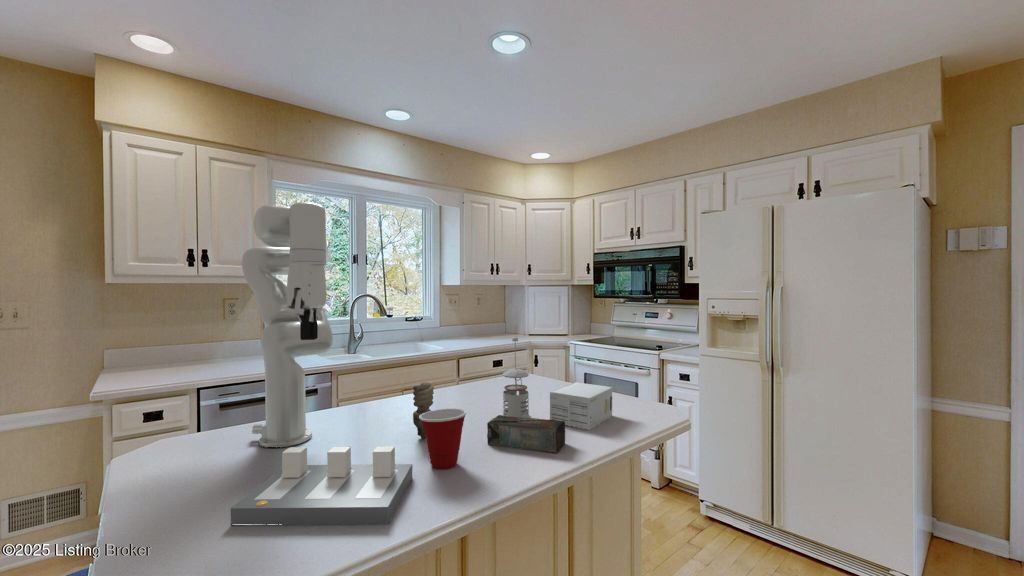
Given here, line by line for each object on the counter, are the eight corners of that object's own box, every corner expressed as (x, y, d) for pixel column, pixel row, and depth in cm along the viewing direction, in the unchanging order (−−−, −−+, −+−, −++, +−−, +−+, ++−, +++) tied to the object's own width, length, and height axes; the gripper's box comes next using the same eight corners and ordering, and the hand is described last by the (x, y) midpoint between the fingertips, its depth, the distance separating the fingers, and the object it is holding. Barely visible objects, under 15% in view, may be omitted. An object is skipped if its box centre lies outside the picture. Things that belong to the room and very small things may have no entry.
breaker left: (281, 477, 86) (281, 453, 86) (290, 469, 89) (290, 446, 89) (299, 477, 86) (299, 453, 86) (308, 469, 89) (307, 446, 89)
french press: (497, 422, 129) (496, 339, 129) (504, 411, 141) (503, 334, 141) (529, 424, 128) (529, 339, 128) (534, 412, 139) (533, 334, 139)
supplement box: (589, 431, 122) (589, 397, 122) (549, 423, 129) (548, 391, 129) (613, 416, 135) (613, 386, 135) (575, 409, 143) (575, 381, 143)
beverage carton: (498, 435, 119) (498, 411, 119) (566, 444, 112) (566, 418, 112) (486, 445, 112) (486, 419, 112) (558, 455, 105) (558, 428, 105)
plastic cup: (448, 451, 107) (448, 403, 107) (476, 464, 99) (476, 411, 99) (410, 464, 99) (409, 412, 99) (437, 479, 92) (436, 422, 92)
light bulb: (436, 435, 119) (436, 380, 119) (431, 442, 113) (430, 385, 113) (416, 434, 119) (416, 380, 119) (410, 442, 114) (409, 385, 114)
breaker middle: (326, 477, 86) (326, 452, 86) (334, 469, 89) (334, 446, 89) (344, 477, 86) (344, 452, 86) (351, 469, 89) (351, 446, 89)
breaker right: (372, 476, 86) (372, 452, 86) (377, 469, 89) (377, 445, 89) (390, 476, 86) (390, 452, 86) (395, 469, 89) (395, 445, 89)
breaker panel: (230, 525, 74) (230, 507, 74) (285, 479, 92) (285, 464, 92) (387, 524, 74) (387, 506, 74) (412, 478, 92) (412, 463, 92)
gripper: (307, 260, 106) (308, 335, 106) (273, 256, 91) (274, 344, 91) (338, 260, 106) (338, 335, 106) (309, 256, 91) (310, 343, 91)
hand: (309, 339), depth 98 cm, fingers closed
